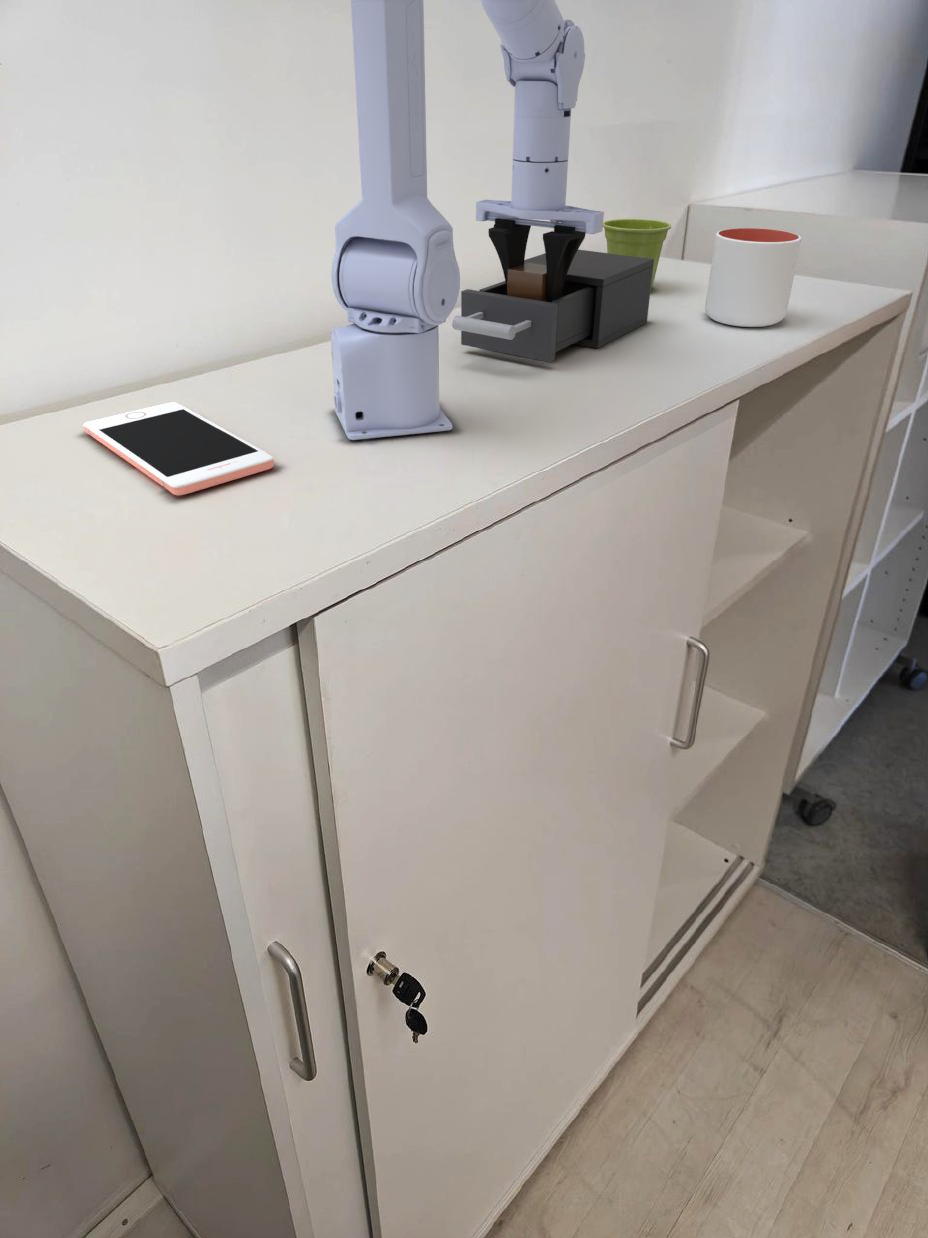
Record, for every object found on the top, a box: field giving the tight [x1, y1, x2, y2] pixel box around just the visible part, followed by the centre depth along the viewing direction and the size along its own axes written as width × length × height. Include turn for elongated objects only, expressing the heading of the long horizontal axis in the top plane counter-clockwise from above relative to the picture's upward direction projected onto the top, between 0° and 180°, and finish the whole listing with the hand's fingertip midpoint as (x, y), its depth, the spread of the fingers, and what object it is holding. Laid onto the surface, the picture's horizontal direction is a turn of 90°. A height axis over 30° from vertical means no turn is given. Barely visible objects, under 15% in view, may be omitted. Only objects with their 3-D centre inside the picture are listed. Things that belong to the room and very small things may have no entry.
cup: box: [704, 227, 802, 328], centre depth 110 cm, size 10×10×10 cm
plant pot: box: [603, 218, 672, 290], centre depth 124 cm, size 9×9×9 cm
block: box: [507, 263, 561, 303], centre depth 98 cm, size 4×4×4 cm
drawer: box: [452, 280, 597, 363], centre depth 98 cm, size 17×11×6 cm, turn 146°
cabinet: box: [524, 249, 654, 350], centre depth 107 cm, size 14×13×8 cm
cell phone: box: [83, 401, 275, 496], centre depth 75 cm, size 9×18×1 cm, turn 41°
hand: (534, 296), depth 98 cm, fingers closed on block, 4 cm apart
